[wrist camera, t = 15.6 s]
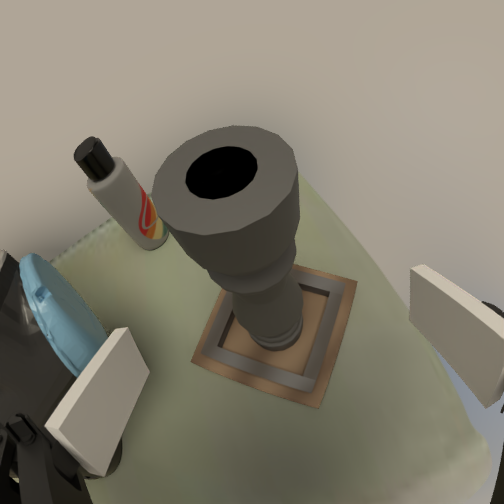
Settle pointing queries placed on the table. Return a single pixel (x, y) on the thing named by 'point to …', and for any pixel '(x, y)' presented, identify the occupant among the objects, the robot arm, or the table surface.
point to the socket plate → (292, 359)
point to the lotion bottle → (120, 194)
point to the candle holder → (239, 223)
